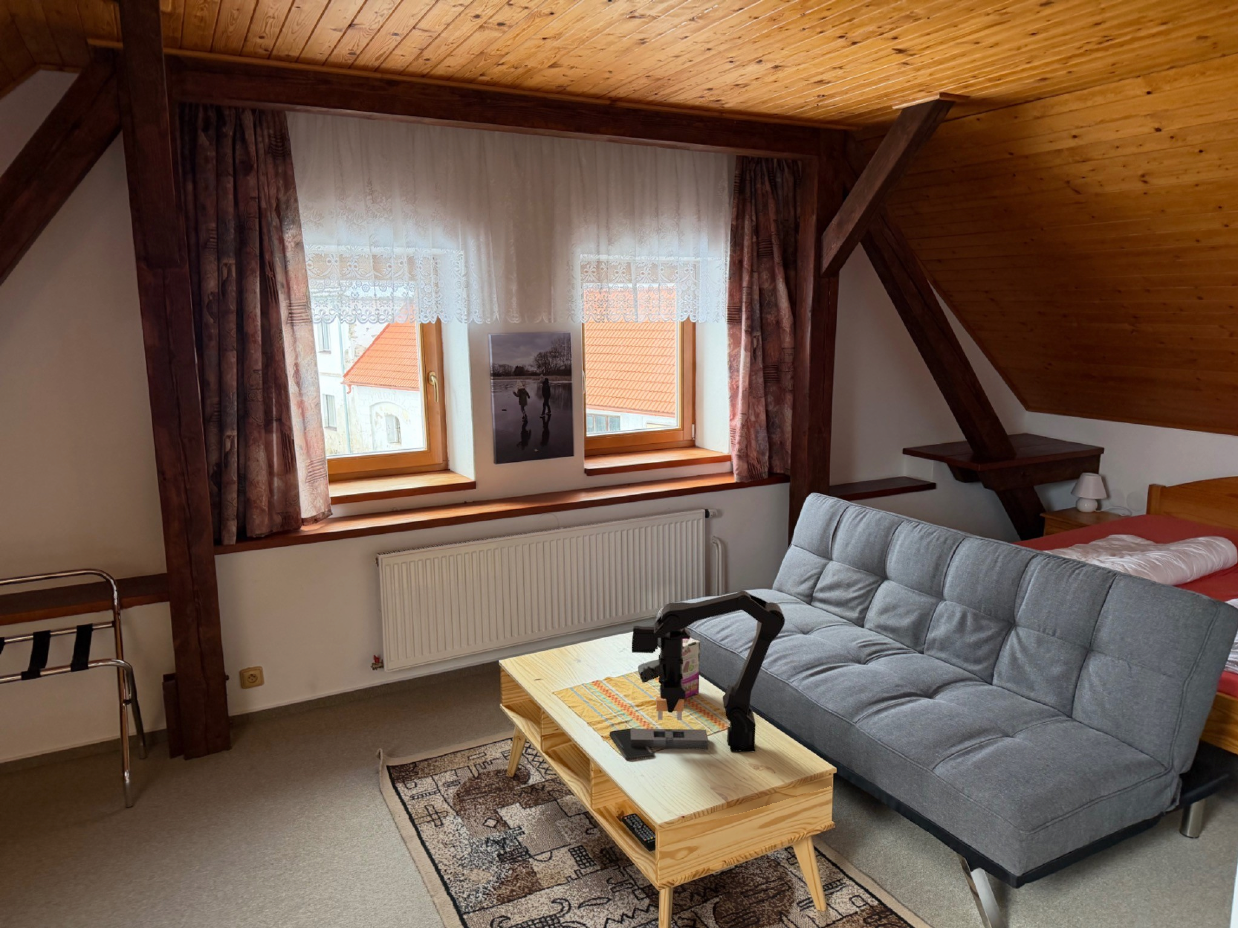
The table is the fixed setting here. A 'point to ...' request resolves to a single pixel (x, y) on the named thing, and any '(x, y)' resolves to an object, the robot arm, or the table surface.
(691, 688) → the candy bar box
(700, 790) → the table surface
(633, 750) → the phone
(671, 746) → the rail
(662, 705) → the clip
